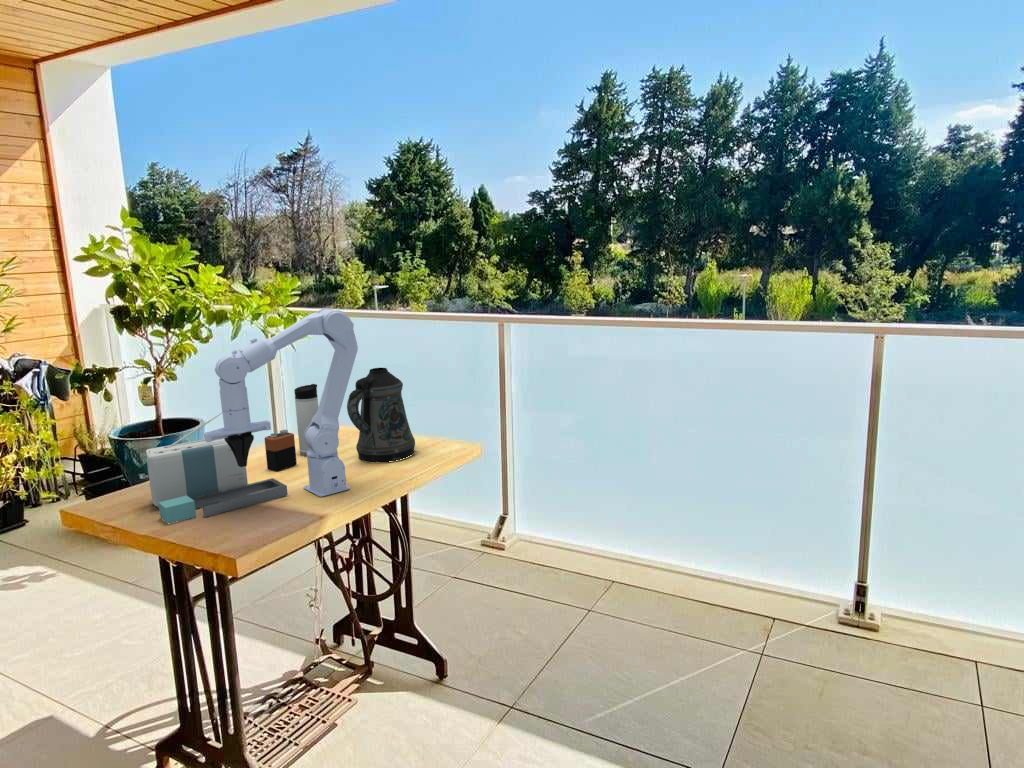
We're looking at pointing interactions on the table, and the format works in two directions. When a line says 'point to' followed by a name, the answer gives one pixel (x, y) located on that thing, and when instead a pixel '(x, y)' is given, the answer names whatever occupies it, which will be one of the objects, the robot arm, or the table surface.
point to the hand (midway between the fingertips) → (242, 465)
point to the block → (177, 509)
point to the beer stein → (380, 418)
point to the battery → (280, 451)
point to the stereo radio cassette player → (192, 469)
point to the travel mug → (305, 411)
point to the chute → (240, 496)
